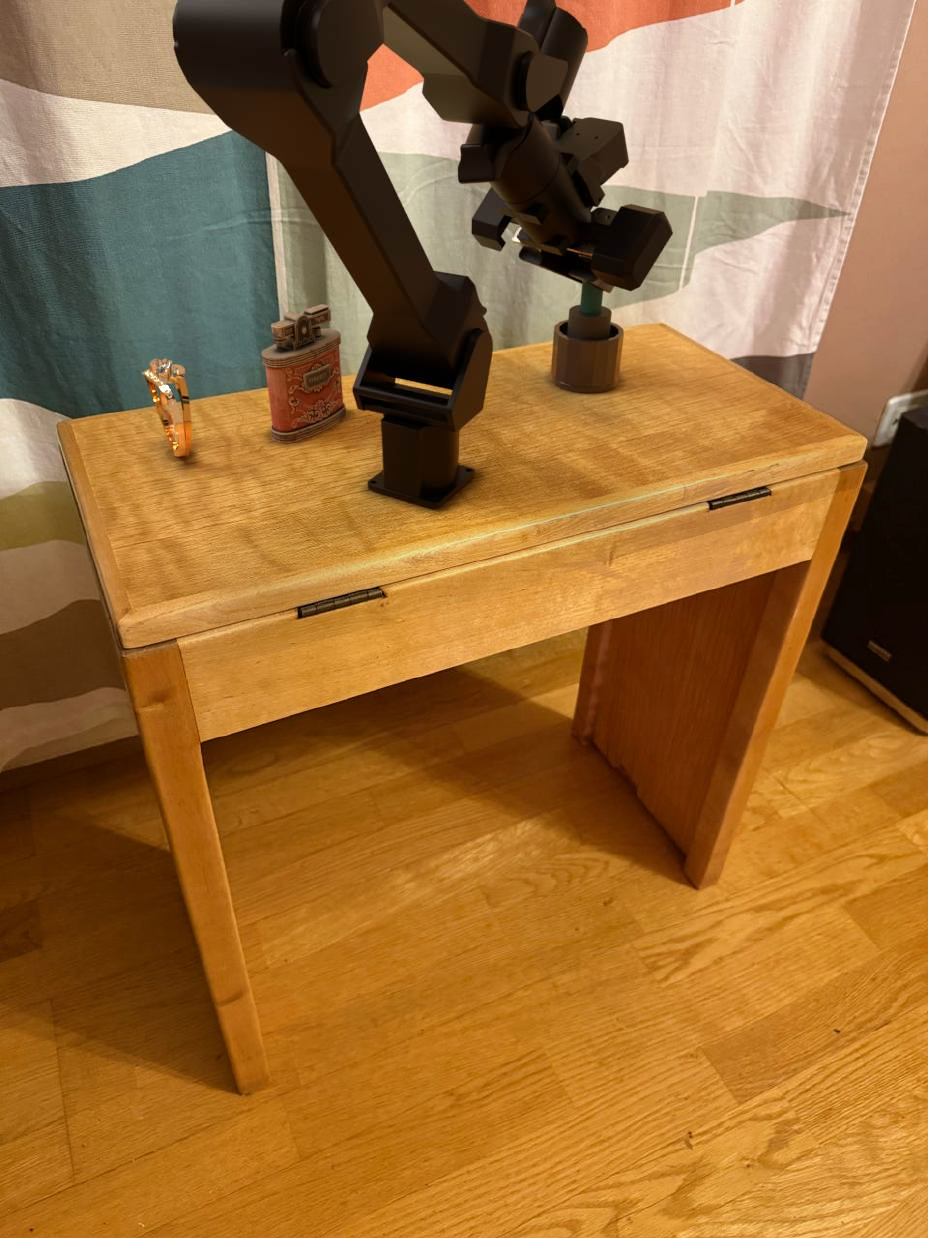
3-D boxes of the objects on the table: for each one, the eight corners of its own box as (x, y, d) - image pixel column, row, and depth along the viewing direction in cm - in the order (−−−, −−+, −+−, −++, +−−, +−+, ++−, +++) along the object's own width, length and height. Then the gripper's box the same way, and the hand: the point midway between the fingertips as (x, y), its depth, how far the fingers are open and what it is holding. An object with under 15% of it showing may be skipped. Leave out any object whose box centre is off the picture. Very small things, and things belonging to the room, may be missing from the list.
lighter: (290, 446, 78) (277, 330, 72) (262, 435, 79) (247, 321, 73) (354, 415, 83) (347, 304, 77) (327, 405, 84) (318, 296, 78)
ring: (151, 441, 78) (131, 349, 73) (189, 433, 79) (172, 343, 74) (169, 476, 73) (149, 381, 68) (209, 468, 74) (192, 374, 70)
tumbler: (602, 398, 86) (608, 346, 83) (539, 384, 89) (542, 333, 86) (627, 374, 91) (633, 325, 88) (566, 361, 94) (570, 313, 91)
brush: (597, 367, 86) (611, 234, 79) (558, 359, 88) (568, 228, 81) (612, 354, 89) (627, 224, 82) (575, 346, 91) (586, 218, 84)
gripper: (677, 97, 67) (733, 231, 80) (498, 71, 78) (572, 192, 90) (596, 229, 67) (665, 340, 80) (429, 185, 78) (513, 289, 91)
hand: (602, 285), depth 85 cm, fingers closed on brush, 2 cm apart
